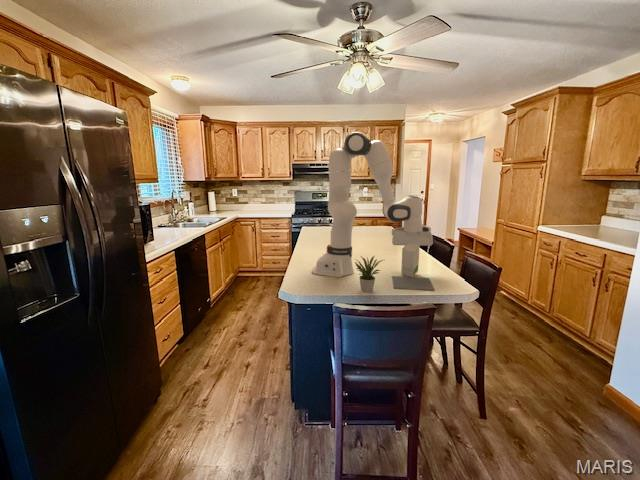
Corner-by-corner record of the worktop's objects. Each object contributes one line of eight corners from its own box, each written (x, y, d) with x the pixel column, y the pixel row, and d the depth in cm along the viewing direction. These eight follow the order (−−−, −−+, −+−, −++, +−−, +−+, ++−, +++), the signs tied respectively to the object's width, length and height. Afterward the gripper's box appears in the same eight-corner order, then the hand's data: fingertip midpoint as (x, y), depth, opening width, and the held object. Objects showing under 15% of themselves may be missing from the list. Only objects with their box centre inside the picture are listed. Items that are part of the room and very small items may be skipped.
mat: (393, 288, 138) (393, 287, 138) (392, 277, 154) (392, 275, 154) (434, 291, 135) (434, 289, 135) (428, 279, 150) (429, 278, 150)
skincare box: (412, 278, 152) (414, 251, 145) (400, 274, 156) (401, 248, 148) (418, 270, 158) (420, 244, 150) (406, 266, 161) (407, 241, 154)
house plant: (381, 284, 143) (382, 251, 140) (388, 295, 130) (390, 259, 126) (351, 284, 143) (352, 251, 139) (355, 296, 129) (357, 259, 126)
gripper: (392, 228, 153) (391, 254, 156) (434, 228, 150) (432, 255, 153) (391, 226, 159) (390, 251, 162) (431, 226, 156) (430, 252, 159)
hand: (411, 253), depth 157 cm, fingers closed
